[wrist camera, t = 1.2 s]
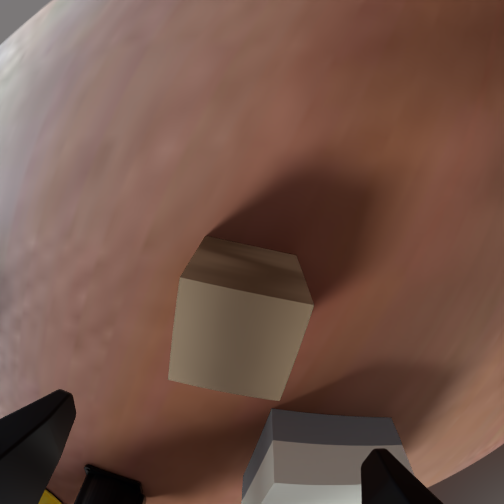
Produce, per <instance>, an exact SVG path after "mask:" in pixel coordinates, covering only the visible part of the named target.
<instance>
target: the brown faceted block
mask: <svg viewBox="0 0 504 504" xmlns="http://www.w3.org/2000/svg"><path fill="white" fill-rule="evenodd" d="M313 307H314V303H313V300H312V298H311V295H310V292H309V289H308V286H307V283H306V281H305V278H304V275H303V272H302V269H301V267H300V264H299V261H298V258H297V256H296V255H292V254H288V253H283V252H279V251H274V250H269V249H265V248H260V247H255V246H251V245H246V244H242V243H237V242H232V241H228V240H223V239H218V238H214V237H209V236H205V238H204V239H203V241H202V242H201V244H200V246H199V247H198V249H197V250H196V252H195V254H194V255H193V257H192V258H191V260H190V262H189V263H188V265H187V267H186V268H185V270H184V271H183V273H182V275H181V276H180V280H179V288H178V295H177V303H176V310H175V319H174V327H173V336H172V345H171V354H170V364H169V375H168V380H172V381H176V382H180V383H184V384H189V385H193V386H197V387H202V388H207V389H211V390H216V391H221V392H227V393H232V394H237V395H243V396H249V397H255V398H262V399H268V400H275V401H280V399H281V396H282V393H283V391H284V388H285V386H286V383H287V380H288V378H289V375H290V373H291V370H292V367H293V364H294V362H295V359H296V356H297V353H298V351H299V348H300V345H301V342H302V339H303V337H304V334H305V331H306V328H307V325H308V322H309V319H310V316H311V313H312V310H313Z"/></svg>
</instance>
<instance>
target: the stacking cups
mask: <svg viewBox="0 0 504 504" xmlns="http://www.w3.org/2000/svg"><path fill="white" fill-rule="evenodd" d="M38 504H62V503H61V502H60V501H59V500H58V499H57V498H56V497H55V496H53V495H52V494H51V493H50V492H48V491H47V490H46V489H45V491H44V493H43V495H42V497H41V499H40V501H39V503H38Z"/></svg>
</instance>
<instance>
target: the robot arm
mask: <svg viewBox="0 0 504 504" xmlns="http://www.w3.org/2000/svg"><path fill="white" fill-rule="evenodd" d="M75 417H76V409H75V404H74V399H73V395H72V394H71V393H69V392H67V391H64V390H62V389H59V390H56V391H54V392H52V393H51V394H49V395H47V396H45V397H43V398H41V399H39V400H37V401H35V402H33V403H31V404H29V405H27V406H25V407H23V408H21V409H19V410H17V411H15V412H13V413H11V414H9V415H7V416H5V417H3V418H1V419H0V504H38V503H39V501H40V499H41V497H42V495H43V493H44V491H45V488H46V486H47V484H48V482H49V480H50V478H51V476H52V474H53V472H54V470H55V468H56V466H57V464H58V462H59V460H60V458H61V455H62V453H63V450H64V447H65V444H66V441H67V439H68V436H69V433H70V431H71V428H72V425H73V423H74V420H75ZM84 469H85V472H86V478H85V480H84V482H83V484H82V487H81V489H80V491H79V494H78V496H77V498H76V500H75V503H74V504H145V496H144V495H143V494H142V488H141V484H140V483H138V482H136V481H133V480H129V479H126V478H123V477H120V476H117V475H114V474H111V473H108V472H106V471H103V470H100V469H98V468H95V467H92V466H90V465H85V467H84ZM361 498H362V504H443V503H442V502H441V501H440V500H439V499H438V498H437V497H436V496H435V495H434V494H432V492H431V491H429V490H428V489H427V488H426V487H425V486H424V485H423V484H422V483H421V482H420V481H419V480H418V479H417V478H416V477H415V476H414V475H413V474H412V473H411V472H410V471H409V470H408V469H407V468H406V467H405V466H404V465H402V464H401V463H400V462H399V461H398V460H397V459H396V458H395V457H394V456H393V455H392V454H391V453H390V452H389V451H388V450H387V449H385V448H376V449H373V450H372V451H371V452H370V454H369V455H368V456H367V458H366V459H365V460H364V461H363V463H362V465H361Z"/></svg>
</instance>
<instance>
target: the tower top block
mask: <svg viewBox="0 0 504 504" xmlns="http://www.w3.org/2000/svg"><path fill="white" fill-rule="evenodd" d="M376 448H385V449H387V450H388V451H389V452H390V453H391V454H392V455H393V456H394V457H395V458H396V459H397V460H398V461H399V462H400V463H401V464H402V465H404V466H405V467H406V468H407V469H408V470H409V471H410V472H411V473H412V474H413V475H414V473H413V471H412V468H411V466H410V463H409V460H408V458H407V455H406V453H405V450H404V448H403V446H402V445H382V446H347V445H322V444H307V443H296V442H285V441H276V440H273V441H272V443H271V445H270V447H269V449H268V451H267V453H266V455H265V457H264V459H263V461H262V463H261V465H260V467H259V469H258V471H257V473H256V475H255V477H254V479H253V481H252V483H251V485H250V487H249V489H248V490H247V492H246V494H245V496H244V498H243V500H242V502H241V504H362V498H361V465H362V463H363V461H364V460H365V459H366V458H367V456H368V455H369V454H370V452H371V451H372V450H373V449H376Z"/></svg>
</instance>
